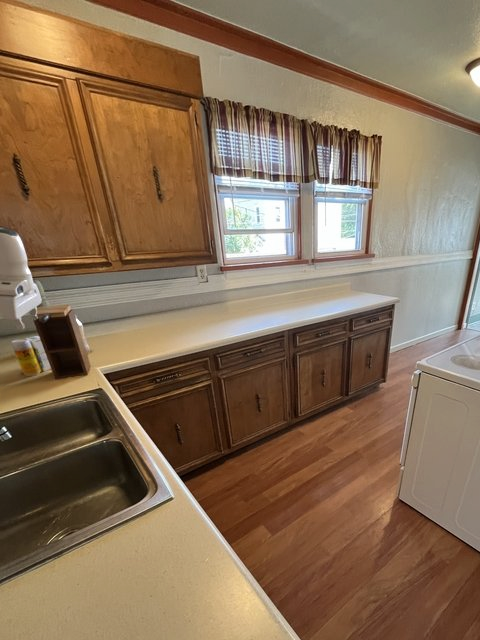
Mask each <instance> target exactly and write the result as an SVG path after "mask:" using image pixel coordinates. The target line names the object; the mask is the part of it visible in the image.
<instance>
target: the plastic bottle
mask: <svg viewBox="0 0 480 640" xmlns="http://www.w3.org/2000/svg"><path fill="white" fill-rule="evenodd" d="M74 314H75V317H76V320H77V324H78V327H79V330H80V333H81V336H82V340H83V343H84V346H85V349H86V352H87V355H88V354H90V353H91V348H90V346H89V344H88V342H87V338H86V336H85V331H84V324H83V323H82V322H81V321H80V320H79V319H78V316H77V314H76V313H74Z"/></svg>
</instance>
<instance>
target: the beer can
mask: <svg viewBox="0 0 480 640" xmlns="http://www.w3.org/2000/svg"><path fill="white" fill-rule="evenodd" d="M11 347H12V349H13V351H14V354H15V356H16V359H17V361H18V364H19V366H20V368H21V371H22V373H23V375H24V376H26V377H35V376H38V375H40V374H41V372H42V371H41V369H40V367H39V364H38V362H37V359H36V357H35V354H34V351H33V349H32V346H31V344H30V342H29V341H28V339H26V338H21V339H20V338H19V339H15V340H12V341H11Z"/></svg>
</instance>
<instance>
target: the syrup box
mask: <svg viewBox="0 0 480 640" xmlns="http://www.w3.org/2000/svg"><path fill="white" fill-rule="evenodd" d="M25 339H28V341H29V342H30V344H31V346H32V349H33V351H34V354H35V357H36V359H37V362H38V364H39V367H40V369H41V372H47V371H50V370H52V369H51V367H50V364H49V361H48V359H47V356H46V353H45V351H44V348H43V345H42V343H41V340H40V337H39V335H34V336H29V337H26V338H25Z"/></svg>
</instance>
